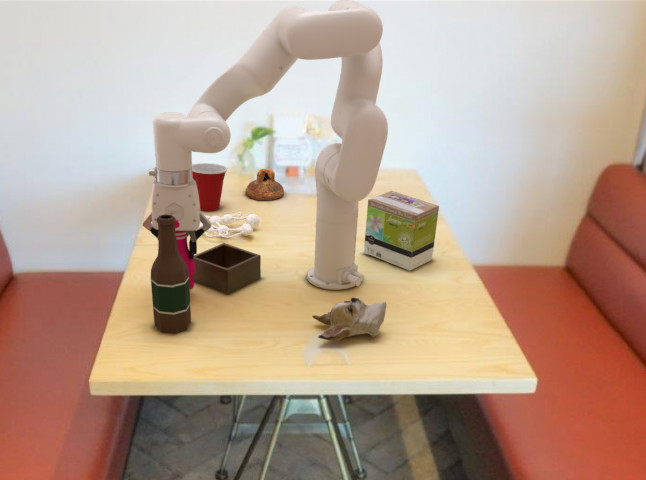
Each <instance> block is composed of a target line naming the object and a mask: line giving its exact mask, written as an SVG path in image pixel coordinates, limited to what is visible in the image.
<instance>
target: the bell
mask: <svg viewBox="0 0 646 480" xmlns="http://www.w3.org/2000/svg"><path fill="white" fill-rule="evenodd" d="M275 176H276V174H275V171H274V170H272V169H268V168H261V169H259V170H258V171H257V173H256V179H254V180H252V181H250V183H248V184H247V186H246V188H245V195H246V196H247V197H248V198H250V199H253V200H257V201H272V200H277V199H279V198H282V197H283V196H284V194H285V189H284V187H283V185H282V184H281V183H280V182H278V181H276V179H275V178H276V177H275Z"/></svg>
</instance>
